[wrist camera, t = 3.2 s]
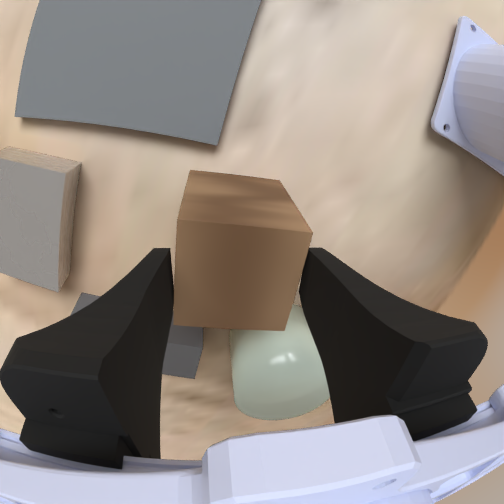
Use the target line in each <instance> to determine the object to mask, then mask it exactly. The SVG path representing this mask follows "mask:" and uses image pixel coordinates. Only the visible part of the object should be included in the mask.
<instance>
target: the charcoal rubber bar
mask: <svg viewBox="0 0 504 504" xmlns="http://www.w3.org/2000/svg"><path fill="white" fill-rule="evenodd" d="M99 297H100V296H95V295H91V294H86V293H81V295H80V297H79V299H78V301H77V303H76V305H75V307H74V309H73V311H72V313H71V315H72V314H74V313H76V312H77V311H79V310H81V309H83V308H84V307H86V306H88V305H89V304H91V303H92V302H94V301H95V300H97V299H98V298H99ZM173 314H174V311H173ZM202 349H203V327H192V326H179V325H173V317H172V322H171V327H170V332H169V337H168V342H167V347H166V352H165V357H164V362H163V369H162V374H165V375H171V376H178V377H184V378H191V379H195V375H196V371H197V368H198V364H199V360H200V356H201V352H202Z"/></svg>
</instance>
